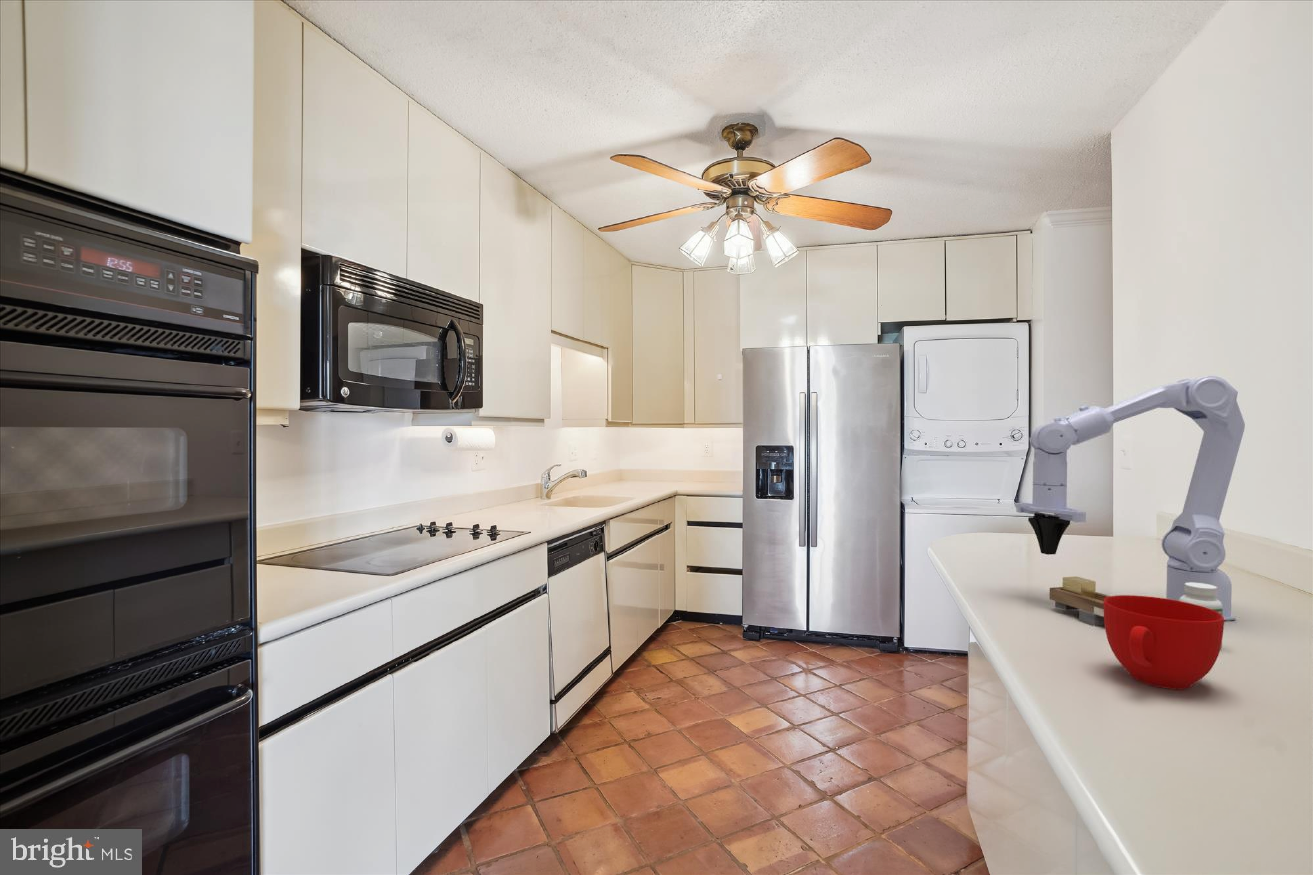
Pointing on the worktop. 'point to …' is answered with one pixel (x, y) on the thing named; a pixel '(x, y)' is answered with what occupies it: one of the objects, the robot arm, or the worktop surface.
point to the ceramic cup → (1163, 639)
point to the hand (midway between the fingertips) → (1048, 553)
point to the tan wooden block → (1080, 586)
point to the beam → (1080, 605)
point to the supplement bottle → (1202, 596)
